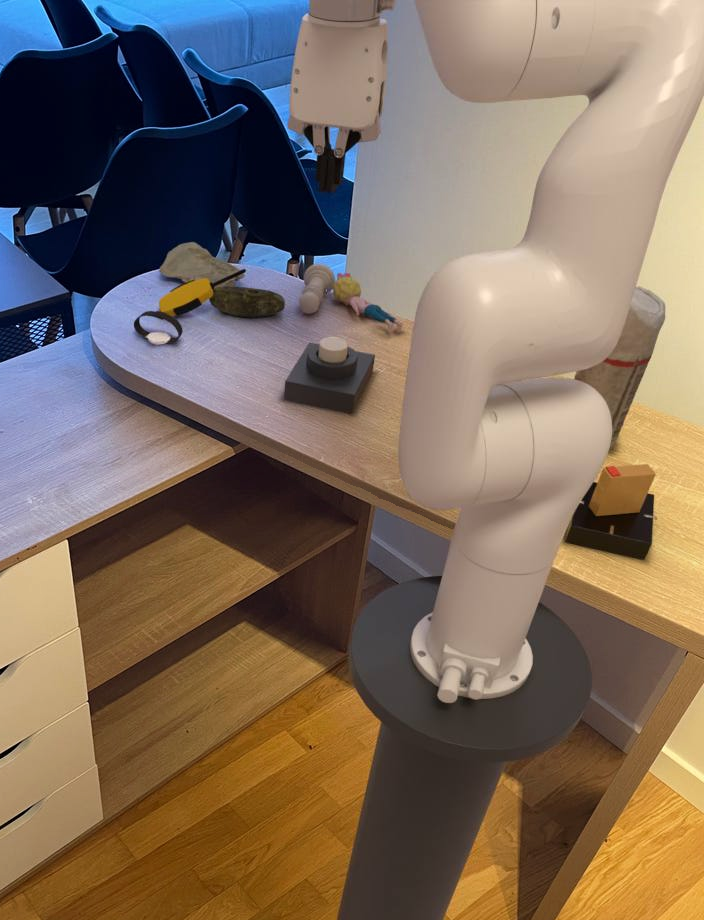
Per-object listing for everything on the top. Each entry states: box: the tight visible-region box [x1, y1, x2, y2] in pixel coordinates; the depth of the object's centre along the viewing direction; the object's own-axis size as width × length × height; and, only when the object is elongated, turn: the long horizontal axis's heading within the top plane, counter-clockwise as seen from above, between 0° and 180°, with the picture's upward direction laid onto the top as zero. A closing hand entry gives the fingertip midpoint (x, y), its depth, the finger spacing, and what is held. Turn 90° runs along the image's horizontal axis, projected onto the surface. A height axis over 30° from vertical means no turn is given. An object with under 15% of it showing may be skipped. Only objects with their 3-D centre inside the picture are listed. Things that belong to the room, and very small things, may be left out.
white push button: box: [318, 336, 349, 363], centre depth 126 cm, size 4×4×2 cm
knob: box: [589, 463, 657, 516], centre depth 105 cm, size 6×2×6 cm, turn 99°
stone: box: [158, 241, 246, 288], centre depth 153 cm, size 15×3×10 cm
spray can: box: [573, 285, 666, 452], centre depth 115 cm, size 8×8×20 cm
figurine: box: [332, 272, 403, 334], centre depth 144 cm, size 6×4×15 cm
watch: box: [133, 310, 183, 345], centre depth 137 cm, size 8×5×4 cm
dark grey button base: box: [283, 342, 376, 415], centre depth 128 cm, size 12×10×5 cm
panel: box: [564, 481, 658, 561], centre depth 108 cm, size 10×10×3 cm
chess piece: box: [298, 263, 336, 315], centre depth 147 cm, size 5×5×9 cm
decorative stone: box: [208, 286, 286, 319], centre depth 144 cm, size 12×5×4 cm, turn 101°
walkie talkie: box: [158, 268, 247, 317], centre depth 142 cm, size 5×2×15 cm
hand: (328, 189), depth 107 cm, fingers closed
